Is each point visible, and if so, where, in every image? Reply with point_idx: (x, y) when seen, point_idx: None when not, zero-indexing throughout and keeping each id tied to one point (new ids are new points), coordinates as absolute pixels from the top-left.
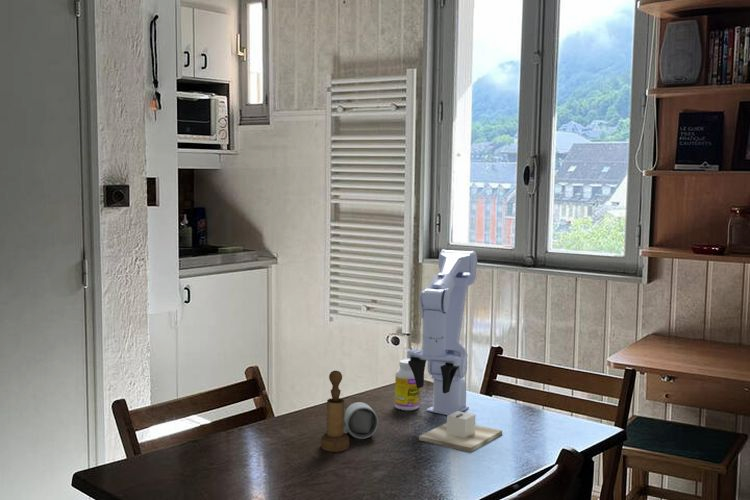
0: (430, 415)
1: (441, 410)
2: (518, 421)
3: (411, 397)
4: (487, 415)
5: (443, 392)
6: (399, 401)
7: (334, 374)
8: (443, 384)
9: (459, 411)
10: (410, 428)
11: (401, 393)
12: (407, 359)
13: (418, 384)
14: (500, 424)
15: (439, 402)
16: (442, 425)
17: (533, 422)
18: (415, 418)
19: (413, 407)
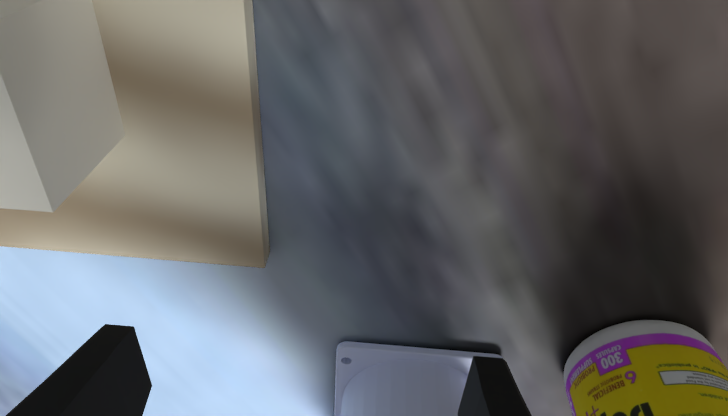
0: (453, 312)
1: (409, 365)
2: None
3: (617, 400)
4: (214, 407)
5: (120, 329)
6: (692, 358)
7: None
8: (47, 413)
9: (28, 207)
10: (461, 32)
11: (704, 409)
12: None
13: (483, 393)
14: (81, 340)
15: (425, 406)
16: (246, 147)
17: (10, 406)
18: (515, 236)
19: (583, 351)
